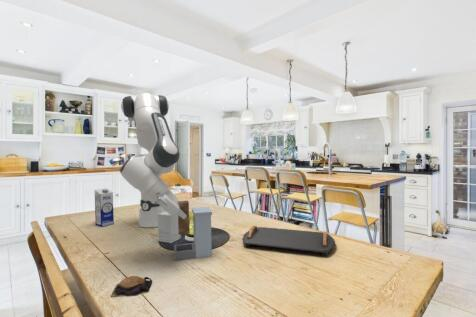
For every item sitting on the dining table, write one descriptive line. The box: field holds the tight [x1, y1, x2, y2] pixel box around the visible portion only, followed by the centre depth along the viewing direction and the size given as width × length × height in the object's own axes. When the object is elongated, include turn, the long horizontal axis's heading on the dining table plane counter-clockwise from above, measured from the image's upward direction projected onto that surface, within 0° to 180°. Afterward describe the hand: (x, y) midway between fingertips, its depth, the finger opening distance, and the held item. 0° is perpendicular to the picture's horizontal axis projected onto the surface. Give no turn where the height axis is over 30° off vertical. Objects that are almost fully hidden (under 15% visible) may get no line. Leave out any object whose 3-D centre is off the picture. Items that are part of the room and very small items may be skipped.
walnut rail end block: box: [178, 200, 190, 236], centre depth 99 cm, size 4×4×12 cm
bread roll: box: [110, 275, 153, 298], centre depth 76 cm, size 11×8×4 cm
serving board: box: [242, 225, 336, 257], centre depth 110 cm, size 39×23×6 cm, turn 70°
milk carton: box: [94, 187, 115, 228], centre depth 143 cm, size 7×7×20 cm
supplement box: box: [157, 211, 182, 244], centre depth 117 cm, size 7×7×13 cm
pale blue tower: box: [173, 206, 213, 262], centre depth 100 cm, size 14×9×17 cm, turn 105°
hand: (185, 215), depth 99 cm, fingers closed on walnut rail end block, 4 cm apart
